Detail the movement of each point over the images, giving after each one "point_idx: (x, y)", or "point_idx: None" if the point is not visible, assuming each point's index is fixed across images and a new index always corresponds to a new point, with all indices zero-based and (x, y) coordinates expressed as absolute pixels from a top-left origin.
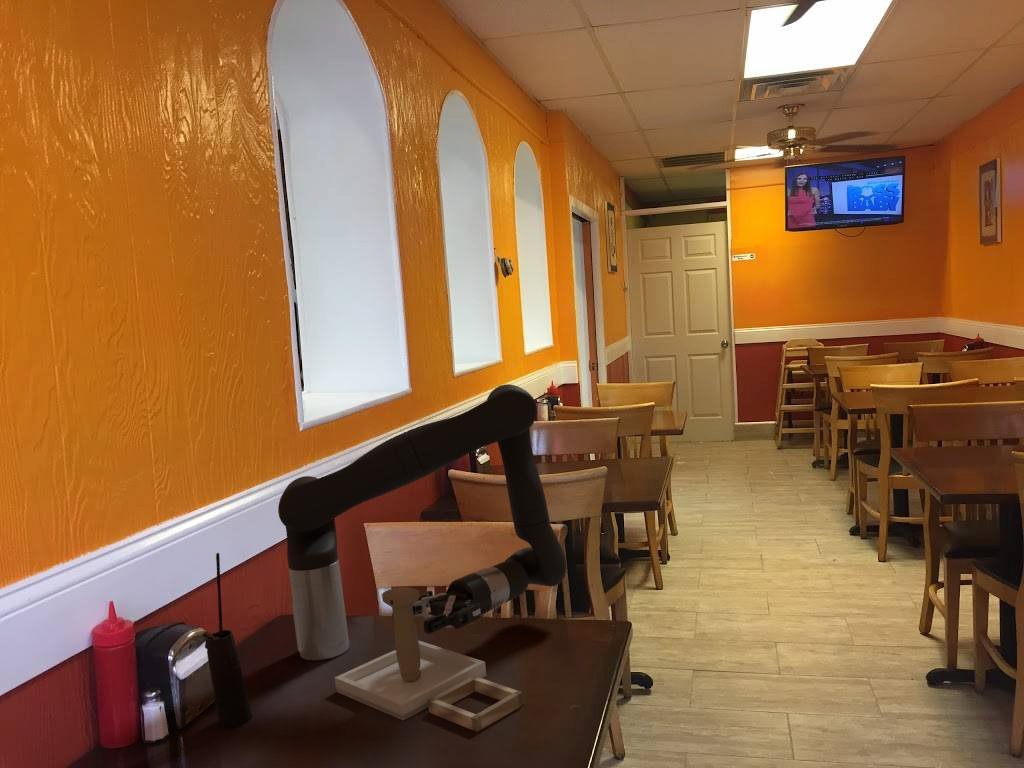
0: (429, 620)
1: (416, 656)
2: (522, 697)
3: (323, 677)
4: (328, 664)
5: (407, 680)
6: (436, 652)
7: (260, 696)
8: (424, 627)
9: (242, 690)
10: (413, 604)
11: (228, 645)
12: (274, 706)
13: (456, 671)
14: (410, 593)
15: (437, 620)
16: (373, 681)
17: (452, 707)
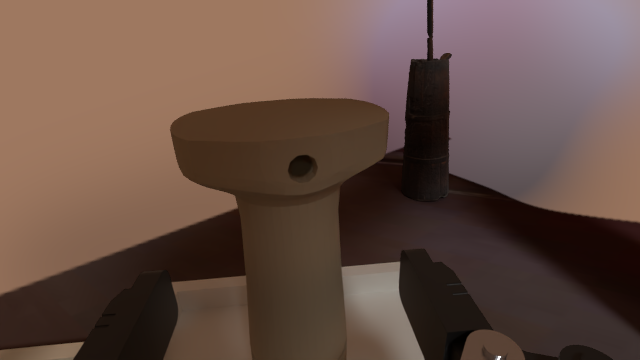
0: (137, 282)
1: None
2: None
3: (525, 298)
4: (625, 335)
5: None
6: None
7: (490, 219)
8: (170, 288)
9: (412, 154)
10: (462, 354)
11: (410, 75)
12: (433, 220)
13: None
14: (214, 124)
15: (106, 328)
16: (383, 338)
17: (21, 356)
